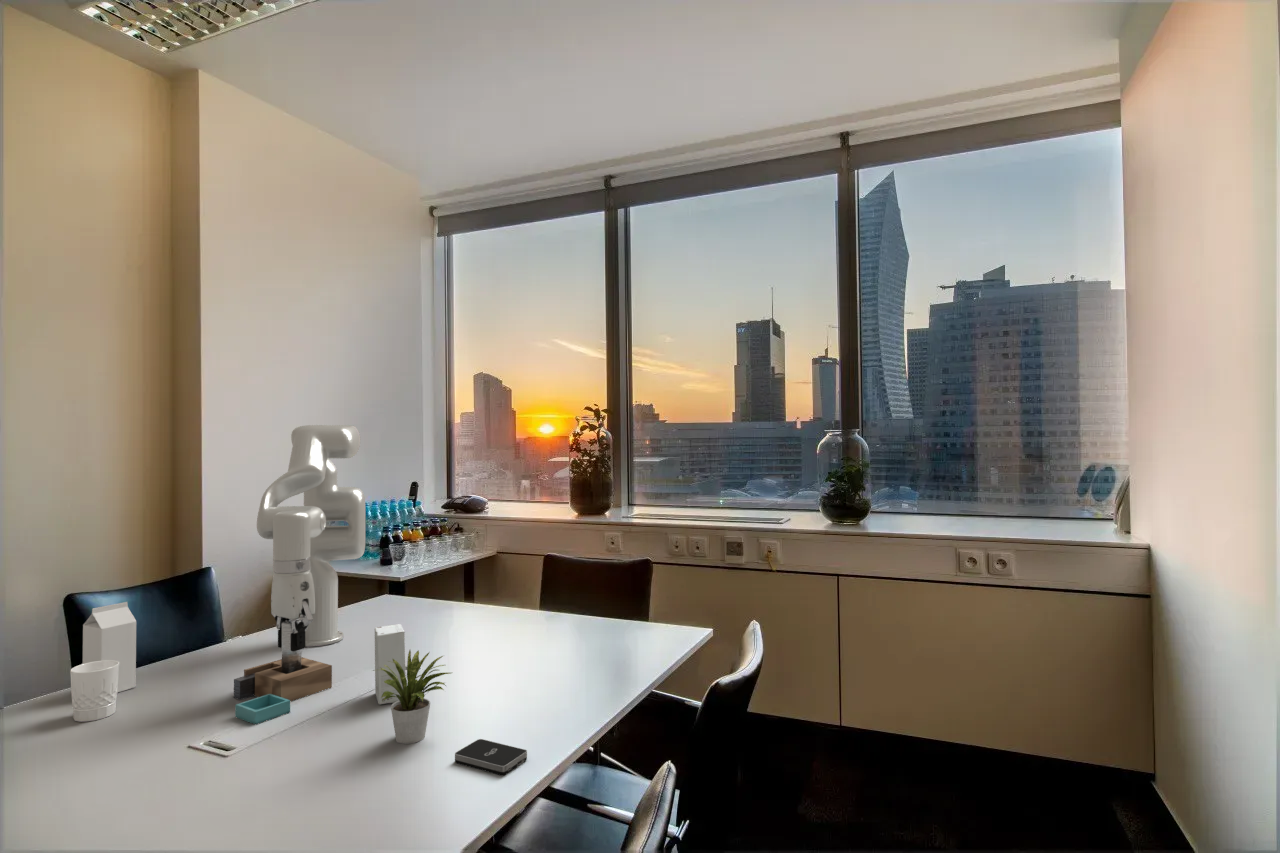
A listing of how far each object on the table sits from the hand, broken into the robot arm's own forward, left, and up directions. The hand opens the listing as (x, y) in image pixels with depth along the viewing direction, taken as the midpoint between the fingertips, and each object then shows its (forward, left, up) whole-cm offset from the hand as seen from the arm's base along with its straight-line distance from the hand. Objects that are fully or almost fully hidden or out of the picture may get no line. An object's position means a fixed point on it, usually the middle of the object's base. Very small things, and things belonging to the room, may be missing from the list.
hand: (291, 647), depth 157 cm
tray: (+8, -11, -10) cm, 17 cm away
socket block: (0, 0, -10) cm, 10 cm away
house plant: (+43, -4, -10) cm, 45 cm away
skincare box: (+22, +9, -10) cm, 26 cm away
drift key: (-5, -5, -10) cm, 12 cm away
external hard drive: (+62, -2, -10) cm, 63 cm away
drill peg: (0, 0, -6) cm, 6 cm away
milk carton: (-35, -21, -10) cm, 42 cm away
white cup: (-21, -29, -10) cm, 37 cm away
